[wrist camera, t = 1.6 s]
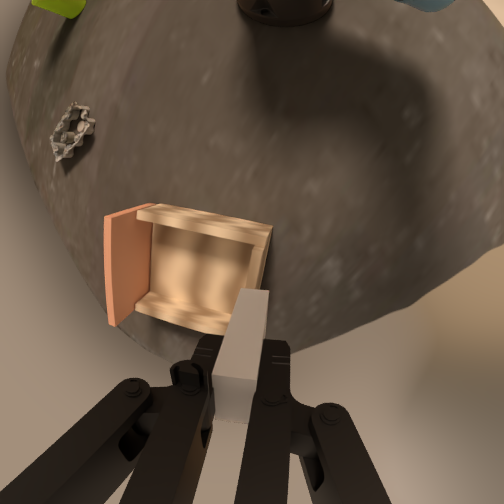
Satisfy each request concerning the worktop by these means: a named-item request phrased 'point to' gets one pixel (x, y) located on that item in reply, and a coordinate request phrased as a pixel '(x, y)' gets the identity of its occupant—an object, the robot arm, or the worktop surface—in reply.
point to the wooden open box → (201, 265)
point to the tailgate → (126, 261)
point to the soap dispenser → (62, 6)
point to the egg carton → (69, 137)
